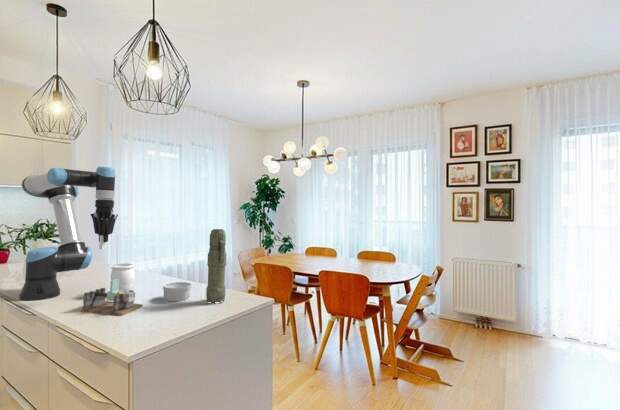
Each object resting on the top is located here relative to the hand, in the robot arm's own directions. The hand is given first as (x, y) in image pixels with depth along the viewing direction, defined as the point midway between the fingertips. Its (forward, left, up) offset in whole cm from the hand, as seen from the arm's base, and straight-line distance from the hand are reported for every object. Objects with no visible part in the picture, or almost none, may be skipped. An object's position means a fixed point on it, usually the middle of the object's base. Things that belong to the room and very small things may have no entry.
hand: (103, 248), depth 153 cm
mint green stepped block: (+16, -10, -20) cm, 27 cm away
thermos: (+52, +13, -25) cm, 59 cm away
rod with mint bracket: (+15, -10, -24) cm, 30 cm away
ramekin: (+32, +12, -25) cm, 42 cm away
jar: (+2, +11, -25) cm, 27 cm away
